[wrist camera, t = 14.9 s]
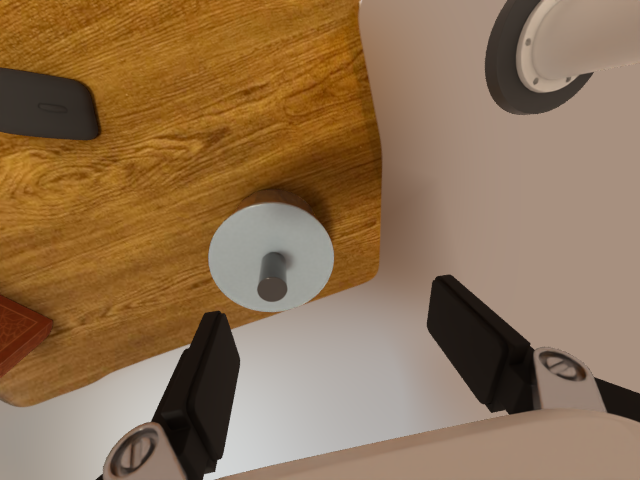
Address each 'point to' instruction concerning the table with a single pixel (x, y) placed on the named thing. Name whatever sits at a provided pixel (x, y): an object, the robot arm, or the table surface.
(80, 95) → the computer mouse
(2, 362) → the book
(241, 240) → the lid
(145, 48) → the table surface
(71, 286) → the table surface
